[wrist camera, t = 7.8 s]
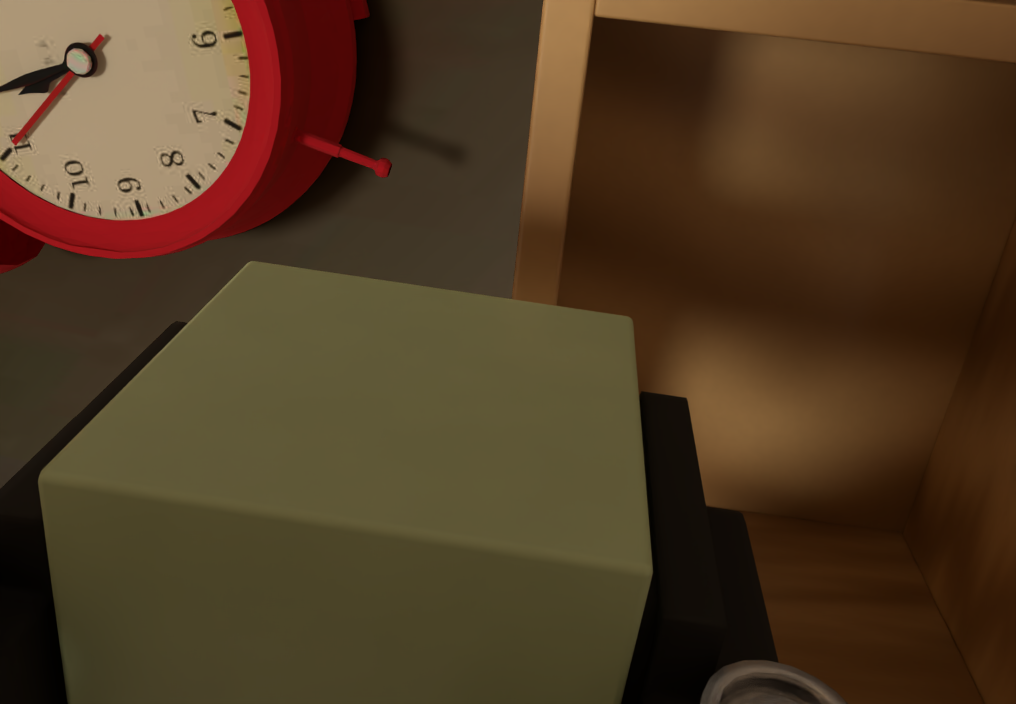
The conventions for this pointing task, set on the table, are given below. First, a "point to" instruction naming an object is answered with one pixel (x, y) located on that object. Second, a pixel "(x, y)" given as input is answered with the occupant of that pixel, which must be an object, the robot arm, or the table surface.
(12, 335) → the table surface
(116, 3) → the alarm clock
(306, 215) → the table surface
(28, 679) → the robot arm
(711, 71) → the chest
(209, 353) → the block
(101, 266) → the table surface
